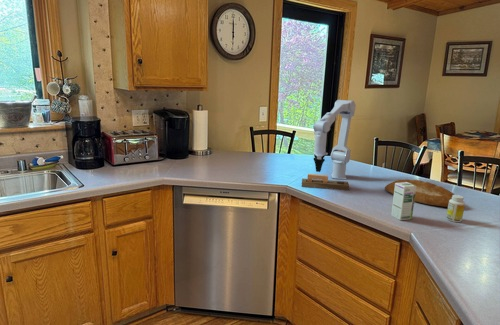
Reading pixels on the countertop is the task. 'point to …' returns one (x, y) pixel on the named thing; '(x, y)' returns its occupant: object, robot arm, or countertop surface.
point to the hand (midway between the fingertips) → (318, 169)
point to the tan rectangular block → (317, 177)
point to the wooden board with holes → (326, 184)
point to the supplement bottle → (455, 208)
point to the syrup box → (403, 201)
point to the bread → (426, 192)
